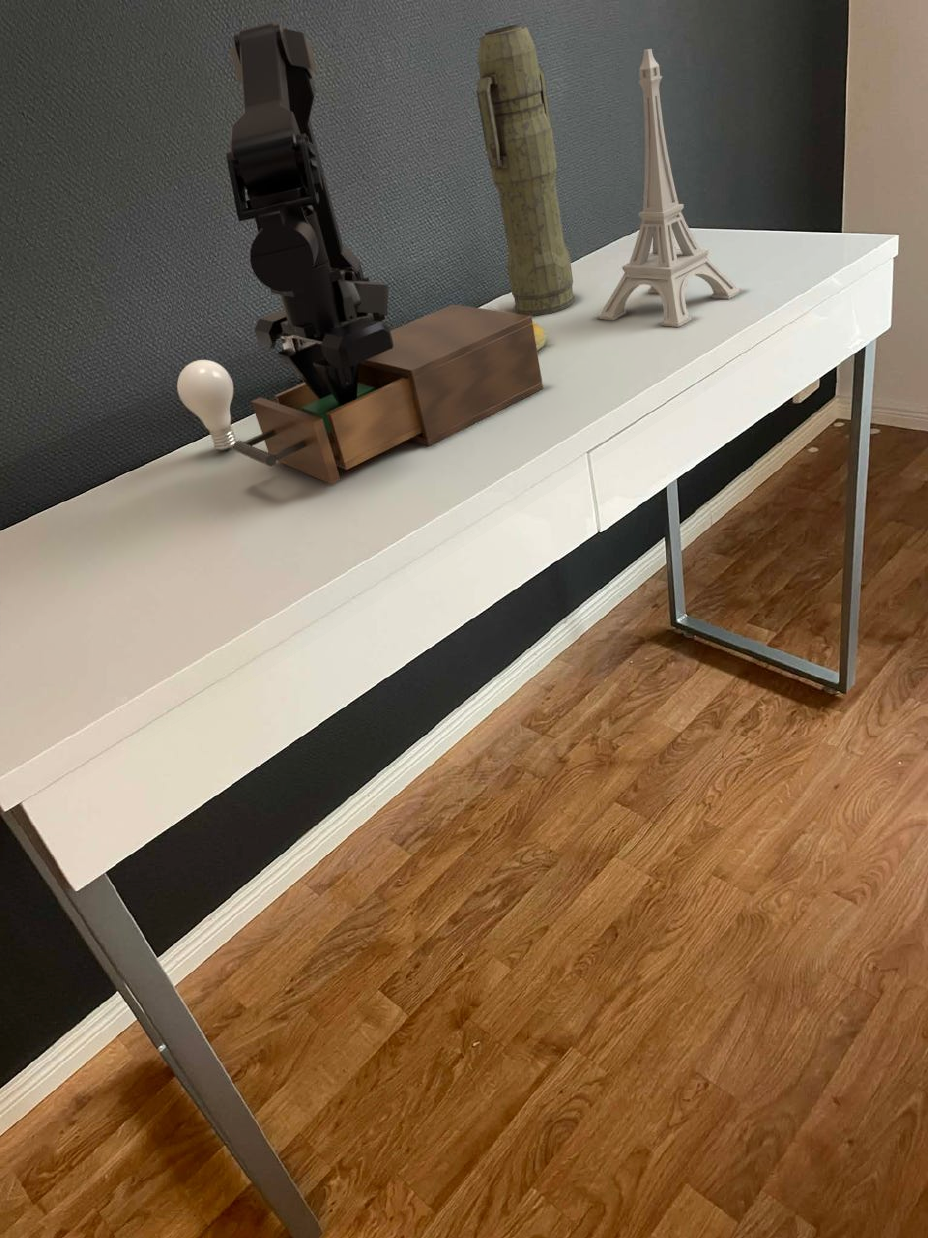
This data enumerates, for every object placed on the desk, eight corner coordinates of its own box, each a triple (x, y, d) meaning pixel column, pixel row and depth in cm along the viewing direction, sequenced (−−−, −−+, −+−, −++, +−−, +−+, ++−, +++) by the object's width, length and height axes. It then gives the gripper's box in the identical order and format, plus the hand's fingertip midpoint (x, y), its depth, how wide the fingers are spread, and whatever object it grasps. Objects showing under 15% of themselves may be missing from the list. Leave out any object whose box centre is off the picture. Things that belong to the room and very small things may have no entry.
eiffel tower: (598, 318, 130) (567, 67, 114) (660, 286, 136) (639, 44, 120) (678, 326, 121) (657, 55, 104) (741, 292, 127) (730, 30, 111)
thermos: (592, 291, 141) (557, 14, 122) (549, 319, 134) (505, 29, 115) (541, 291, 146) (500, 26, 127) (498, 318, 139) (447, 41, 120)
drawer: (291, 503, 97) (271, 441, 94) (233, 474, 107) (212, 417, 103) (450, 424, 106) (437, 365, 103) (383, 404, 116) (368, 349, 112)
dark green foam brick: (324, 436, 103) (317, 413, 101) (307, 429, 105) (300, 407, 104) (380, 409, 106) (375, 387, 105) (363, 404, 109) (357, 382, 107)
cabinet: (429, 446, 105) (411, 370, 100) (357, 422, 115) (338, 352, 111) (543, 388, 112) (531, 315, 108) (466, 371, 123) (452, 303, 118)
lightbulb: (209, 465, 113) (175, 376, 107) (196, 451, 118) (163, 364, 112) (259, 447, 115) (229, 358, 109) (245, 433, 120) (215, 347, 114)
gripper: (417, 245, 93) (450, 397, 102) (320, 237, 107) (356, 372, 115) (322, 282, 89) (365, 438, 97) (233, 269, 102) (277, 407, 110)
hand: (342, 411), depth 105 cm, fingers closed on dark green foam brick, 3 cm apart
